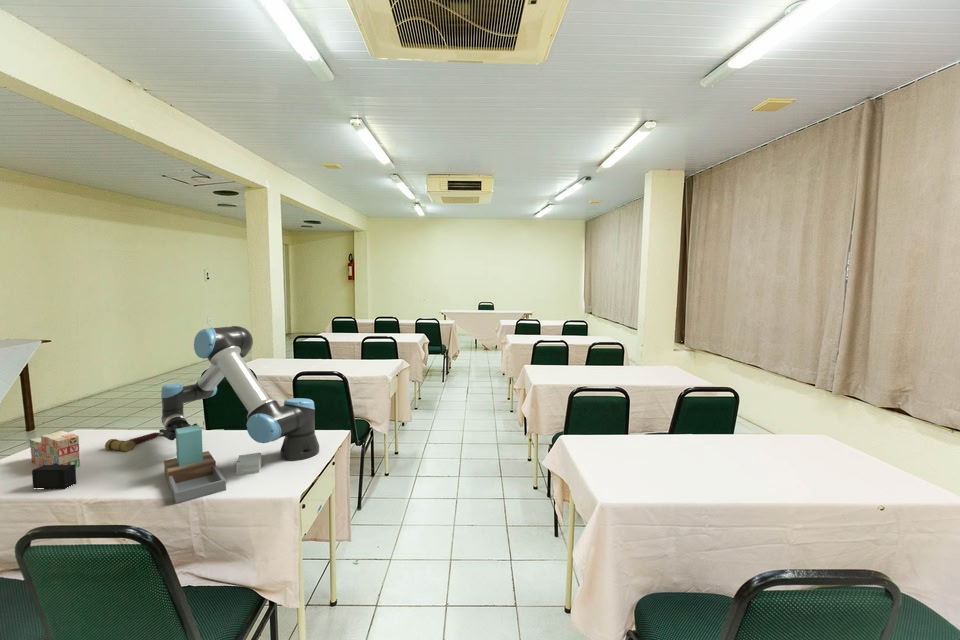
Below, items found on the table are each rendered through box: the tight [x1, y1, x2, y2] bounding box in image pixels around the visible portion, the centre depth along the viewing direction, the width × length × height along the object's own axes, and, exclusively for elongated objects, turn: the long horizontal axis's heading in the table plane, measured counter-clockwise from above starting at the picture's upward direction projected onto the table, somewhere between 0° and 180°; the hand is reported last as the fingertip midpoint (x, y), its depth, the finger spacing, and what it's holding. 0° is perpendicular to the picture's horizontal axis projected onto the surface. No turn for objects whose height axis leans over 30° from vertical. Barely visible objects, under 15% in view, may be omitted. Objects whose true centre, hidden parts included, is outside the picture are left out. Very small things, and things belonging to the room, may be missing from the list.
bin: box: [168, 464, 227, 505], centre depth 142 cm, size 16×14×4 cm
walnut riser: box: [163, 450, 217, 486], centre depth 153 cm, size 13×14×5 cm
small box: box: [235, 452, 263, 476], centre depth 157 cm, size 8×8×5 cm
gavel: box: [104, 432, 161, 453], centre depth 183 cm, size 21×5×10 cm
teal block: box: [175, 424, 204, 467], centre depth 152 cm, size 7×7×12 cm
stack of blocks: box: [29, 430, 81, 468], centre depth 159 cm, size 21×6×12 cm, turn 67°
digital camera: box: [31, 464, 77, 490], centre depth 142 cm, size 10×5×7 cm, turn 93°
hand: (185, 440), depth 157 cm, fingers closed
